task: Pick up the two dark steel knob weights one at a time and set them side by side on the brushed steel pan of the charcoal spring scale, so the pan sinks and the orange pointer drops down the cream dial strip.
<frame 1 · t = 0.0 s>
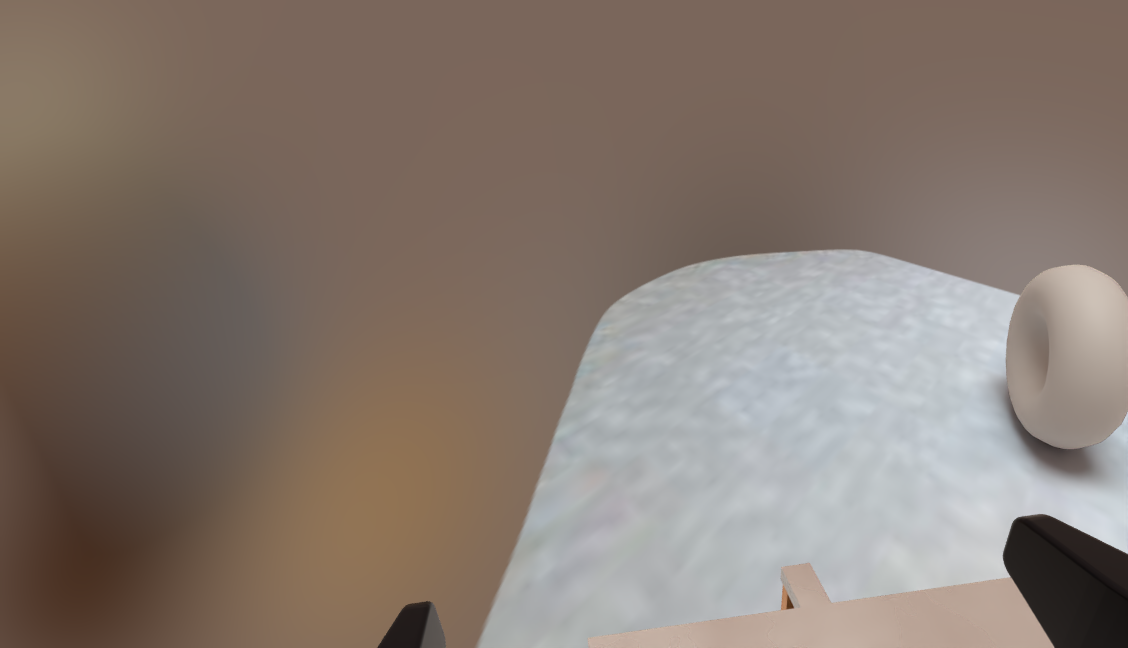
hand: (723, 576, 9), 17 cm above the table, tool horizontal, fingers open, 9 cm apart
donut: (1040, 432, 34), on the table
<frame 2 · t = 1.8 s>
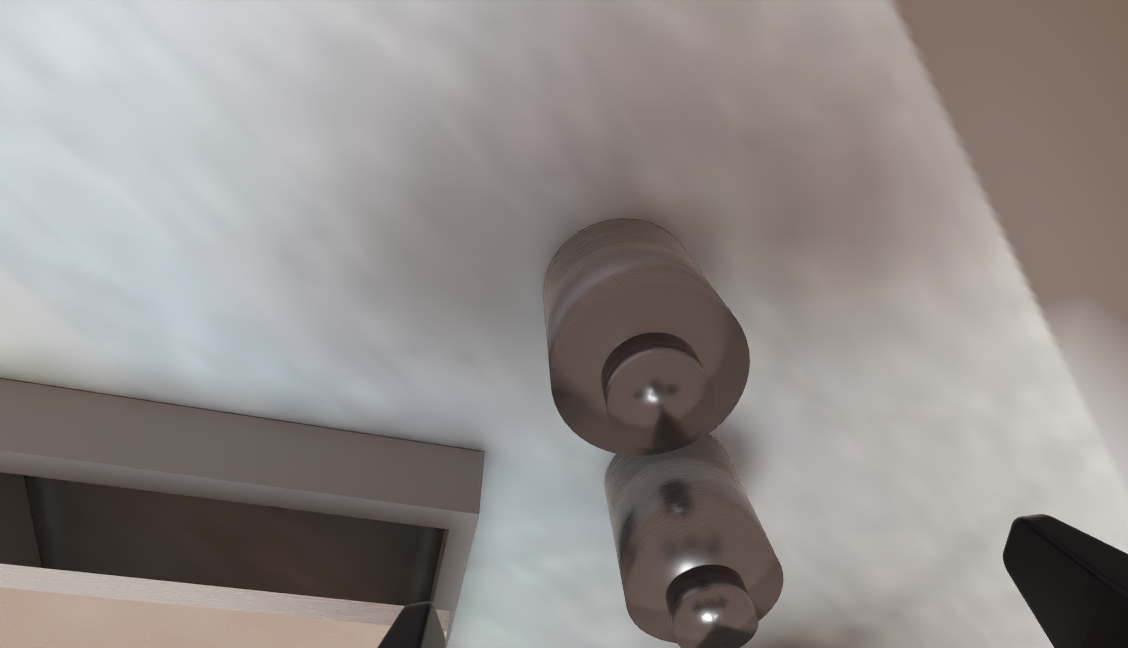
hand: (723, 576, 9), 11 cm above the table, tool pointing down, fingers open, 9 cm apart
weight 2: (667, 478, 22), on the table
scale base: (245, 580, 23), on the table
weight 1: (619, 292, 18), on the table
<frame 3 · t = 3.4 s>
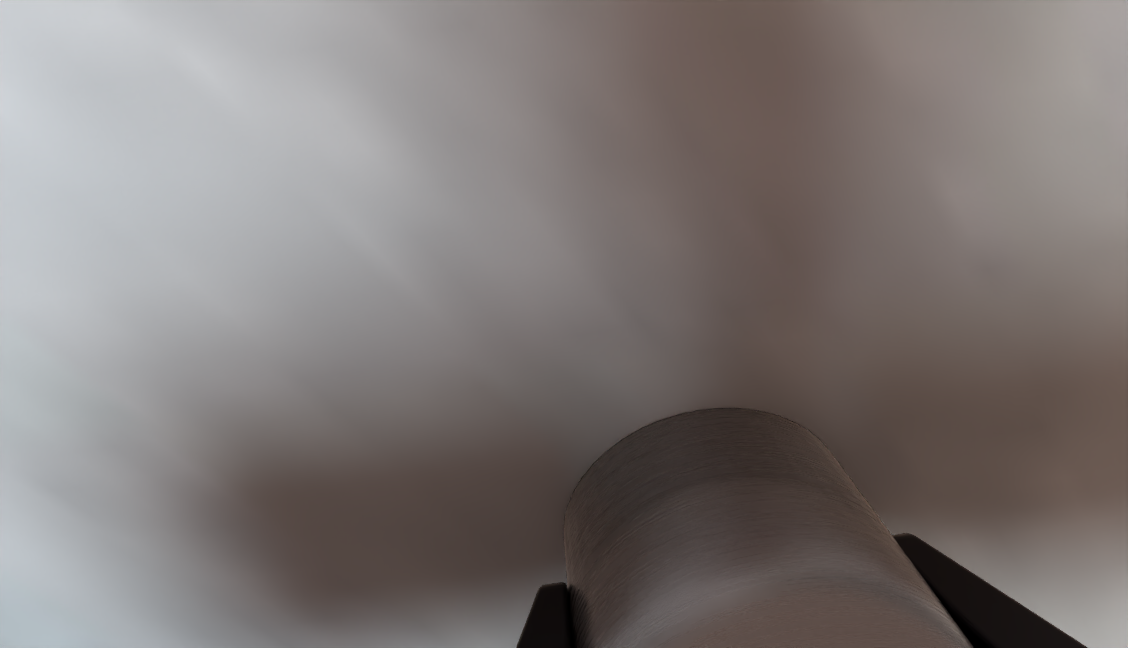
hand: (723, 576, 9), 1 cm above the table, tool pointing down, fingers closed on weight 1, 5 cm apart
weight 1: (704, 525, 10), on the table, touching gripper
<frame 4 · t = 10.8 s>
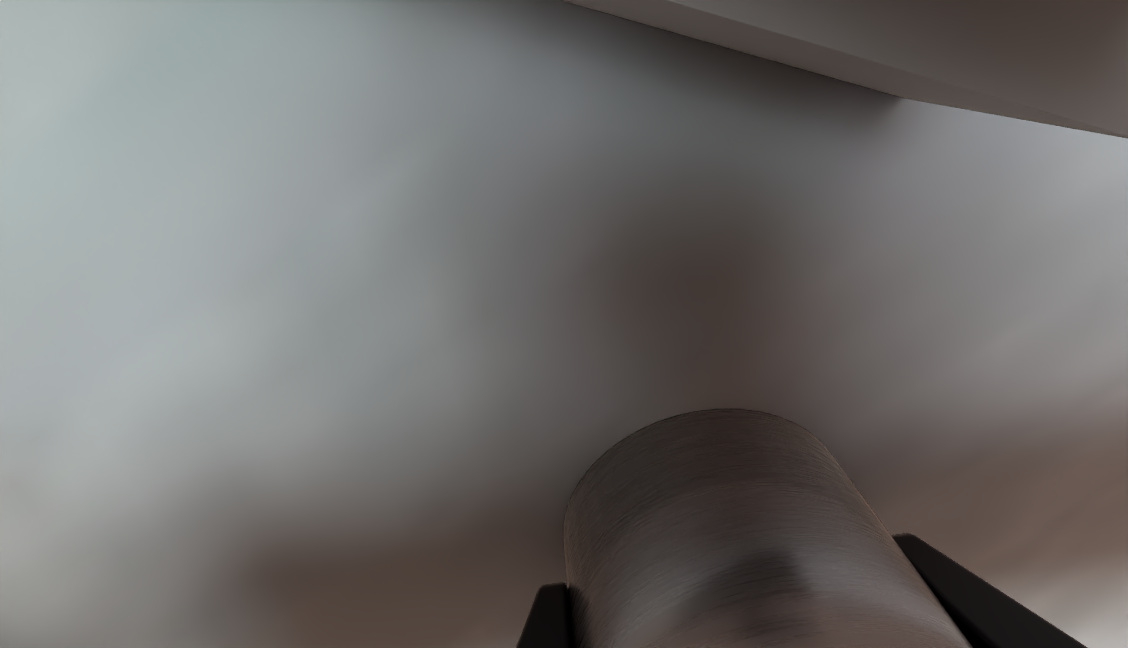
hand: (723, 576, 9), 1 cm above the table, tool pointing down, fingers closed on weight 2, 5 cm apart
weight 2: (703, 525, 10), on the table, touching gripper
when the fingers open (9 cm above the table, at t = 13.9 s): weight 2 drops 3 cm, resting on scale pan.
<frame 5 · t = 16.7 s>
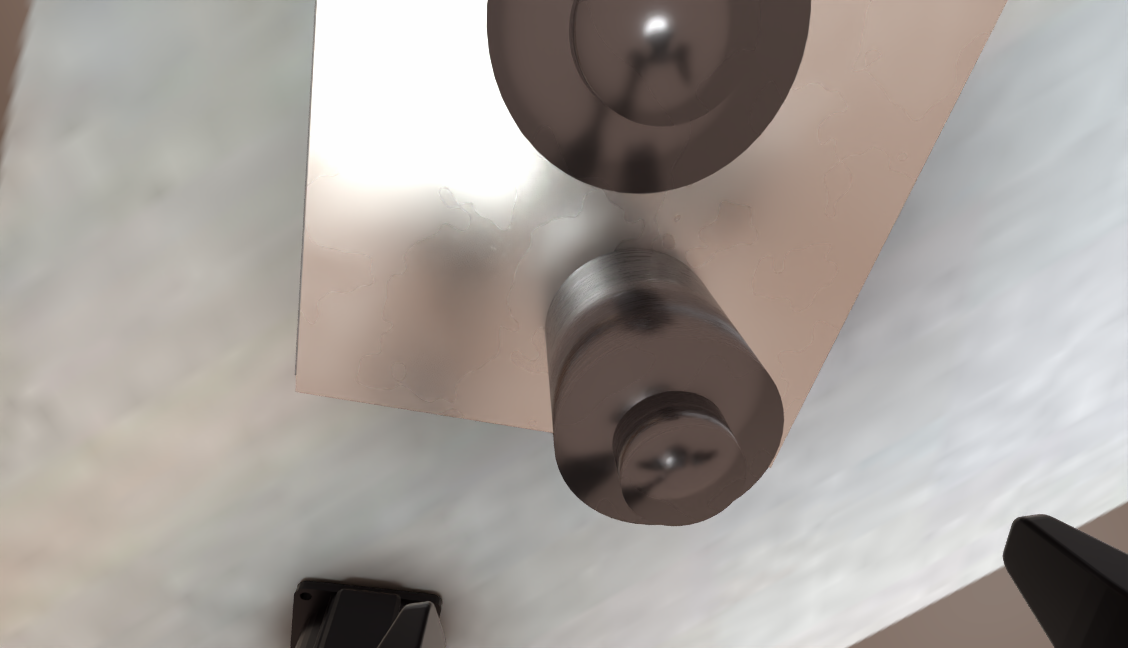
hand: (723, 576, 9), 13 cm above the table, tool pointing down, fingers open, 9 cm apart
scale pan: (615, 150, 16), point 3 cm above the table, slide at 2.6 cm, touching weight 1, weight 2
weight 2: (629, 329, 17), point 5 cm above the table, touching scale pan
scale base: (596, 161, 19), on the table
weight 1: (605, 36, 13), point 5 cm above the table, touching scale pan
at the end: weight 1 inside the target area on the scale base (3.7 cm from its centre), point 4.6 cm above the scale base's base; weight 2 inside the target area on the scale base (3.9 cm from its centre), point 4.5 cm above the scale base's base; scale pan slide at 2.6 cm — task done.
